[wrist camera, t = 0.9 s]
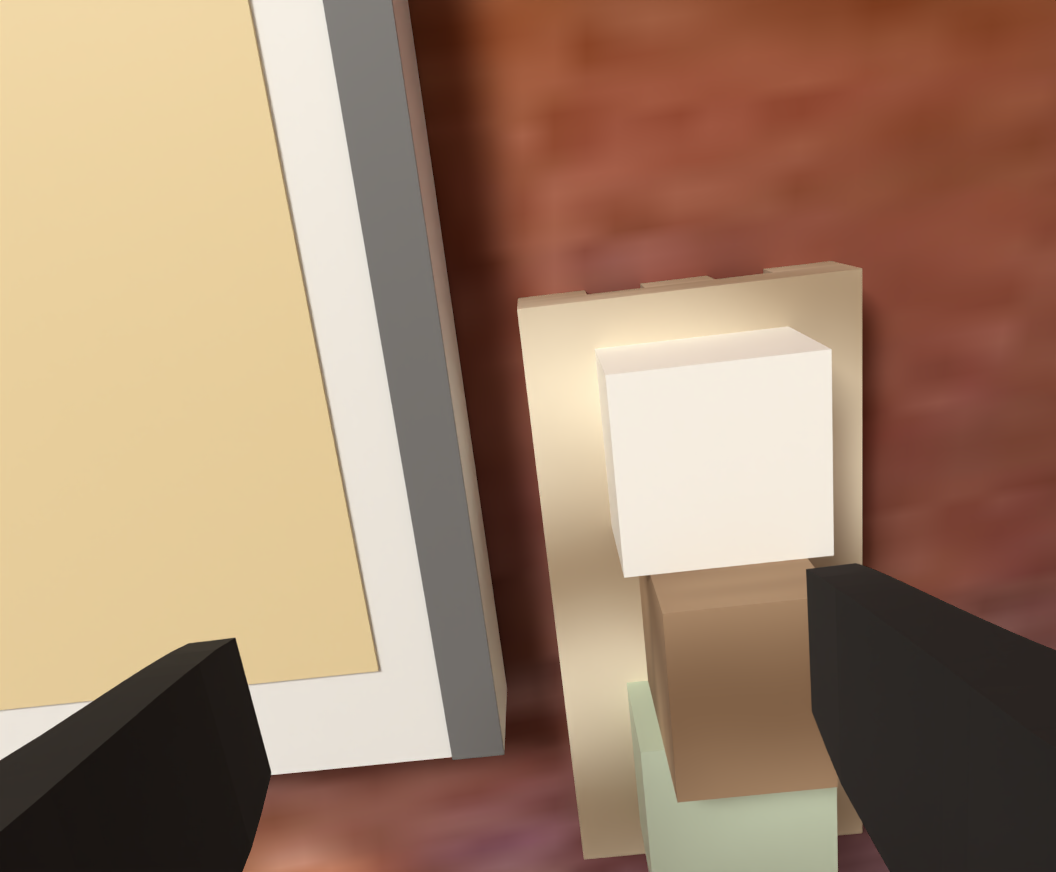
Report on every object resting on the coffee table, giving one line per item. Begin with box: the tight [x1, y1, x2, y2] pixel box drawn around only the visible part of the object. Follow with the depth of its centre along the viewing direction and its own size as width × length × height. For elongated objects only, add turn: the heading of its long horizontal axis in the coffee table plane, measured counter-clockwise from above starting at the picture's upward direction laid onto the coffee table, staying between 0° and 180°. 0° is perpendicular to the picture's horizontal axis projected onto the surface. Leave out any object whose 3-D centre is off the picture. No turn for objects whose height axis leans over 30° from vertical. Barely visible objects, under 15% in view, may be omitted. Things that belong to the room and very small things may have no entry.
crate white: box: [595, 326, 834, 578], centre depth 16 cm, size 4×4×2 cm
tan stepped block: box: [517, 261, 862, 859], centre depth 18 cm, size 14×7×6 cm, turn 7°
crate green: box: [627, 681, 838, 872], centre depth 19 cm, size 4×4×2 cm
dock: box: [0, 0, 507, 775], centre depth 17 cm, size 20×14×3 cm
